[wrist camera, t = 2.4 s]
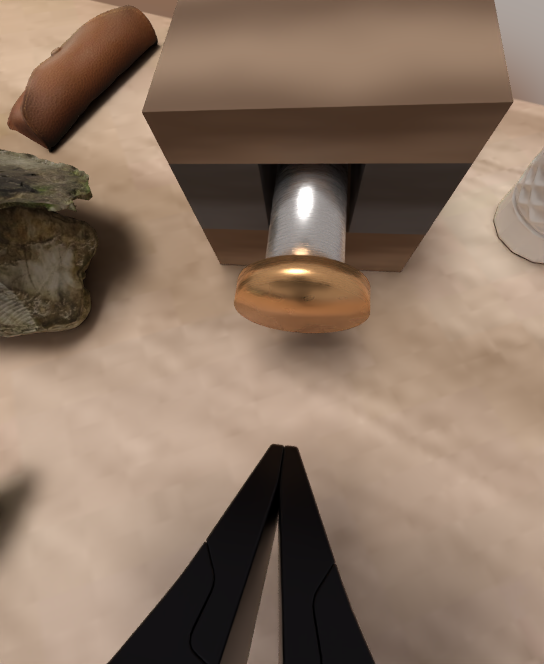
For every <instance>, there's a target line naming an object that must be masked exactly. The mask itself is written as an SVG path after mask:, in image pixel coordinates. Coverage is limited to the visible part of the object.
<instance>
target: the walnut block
mask: <svg viewBox="0 0 544 664" xmlns="http://www.w3.org/2000/svg"><path fill="white" fill-rule="evenodd" d="M512 103H513V98H512V92H511V87H510V82H509V77H508V71H507V66H506V61H505V55H504V50H503V45H502V40H501V34H500V29H499V24H498V19H497V14H496V8H495V3H494V0H178V2H177V6H176V8H175V11H174V15H173V18H172V21H171V24H170V27H169V30H168V33H167V36H166V39H165V42H164V45H163V49H162V52H161V55H160V58H159V61H158V64H157V67H156V70H155V73H154V76H153V79H152V83H151V86H150V89H149V92H148V95H147V98H146V101H145V104H144V107H143V110H142V113H143V115H144V117H145V119H146V121H147V123H148V125H149V127H150V128H151V130H152V132H153V134H154V136H155V138H156V140H157V142H158V144H159V146H160V148H161V150H162V152H163V154H164V156H165V158H166V159H167V161H168V163H169V165H170V167H171V169H172V171H173V173H174V175H175V177H176V179H177V181H178V183H179V185H180V187H181V188H182V190H183V192H184V194H185V196H186V198H187V200H188V202H189V204H190V206H191V208H192V210H193V212H194V214H195V216H196V217H197V219H198V221H199V223H200V225H201V227H202V229H203V231H204V233H205V235H206V237H207V239H208V241H209V243H210V245H211V246H212V248H213V250H214V252H215V254H216V256H217V258H218V260H219V262H220V264H232V265H250V264H252V263H254V262H256V261H259V260H262V259H265V258H266V250H267V243H268V235H269V227H270V219H271V211H272V203H273V196H274V188H275V180H276V172H277V164H348V185H347V212H346V239H345V264H348V265H350V266H352V267H354V268H356V269H357V270H369V271H392V272H401V270H402V269H403V267H404V266H405V264H406V263H407V261H408V260H409V258H410V257H411V255H412V254H413V252H414V251H415V249H416V248H417V246H418V245H419V243H420V242H421V240H422V239H423V237H424V236H425V234H426V233H427V231H428V230H429V228H430V227H431V225H432V224H433V222H434V221H435V219H436V218H437V216H438V215H439V213H440V212H441V210H442V209H443V207H444V206H445V204H446V203H447V201H448V200H449V198H450V197H451V195H452V194H453V192H454V191H455V189H456V188H457V186H458V185H459V183H460V182H461V180H462V179H463V177H464V176H465V174H466V173H467V171H468V170H469V168H470V167H471V165H472V164H473V162H474V161H475V159H476V158H477V156H478V155H479V153H480V152H481V150H482V148H483V147H484V145H485V144H486V142H487V141H488V139H489V138H490V136H491V135H492V133H493V132H494V130H495V129H496V127H497V126H498V124H499V123H500V121H501V120H502V118H503V117H504V115H505V114H506V112H507V111H508V109H509V108H510V106H511V105H512Z"/></svg>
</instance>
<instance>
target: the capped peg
mask: <svg viewBox="0 0 544 664" xmlns="http://www.w3.org/2000/svg"><path fill="white" fill-rule="evenodd" d="M347 185H348V164H277V172H276V180H275V188H274V196H273V203H272V211H271V219H270V227H269V235H268V243H267V250H266V258H265V259H262V260H259V261H256V262H254V263H252V264H250V265H248V266H247V267H246V268H244V269H243V270H242V271H241V273H240V274H239V277H238V281H237V288H236V294H235V300H234V306H235V308H236V310H237V311H238V313H240V314H241V315H242V316H243V317H245V318H246V319H248V320H250V321H252V322H254V323H257V324H259V325H262V326H266V327H269V328H273V329H278V330H283V331H290V332H299V333H328V332H336V331H342V330H346V329H350V328H353V327H356V326H358V325H360V324H362V323H363V322H365V321H366V320H367V319H368V317H369V315H370V283H369V281H368V279H367V278H366V277H365V276H364V274H363V273H361V272H360V271H359V270H357V269H356V268H354V267H352V266H350V265H348V264H345V239H346V212H347Z"/></svg>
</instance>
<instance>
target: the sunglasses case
mask: <svg viewBox="0 0 544 664" xmlns="http://www.w3.org/2000/svg"><path fill="white" fill-rule="evenodd" d="M157 43H158V39H157V36H156V34H155V31H154V29H153V27H152V25H151V23H150V21H149V20H148V19H147V17H146V16H145V15H144V14H143V13H142V12H141V11H140V10H138V9H137V8H135V7H133V6H123V7H119V8H116V9H112V10H110V11H107V12H105V13H102V14H100V15H98V16H96V17H94V18H93V19H91V20H89V21H88V22H87V23H85V24H84V25H83V26H81V27H80V28H79V29H78V30H77V31H76V32H75V33H74V34H73V35H72V36H71V37H70V38H69V39H68V40H67V41H66V42H65V43H64V44H63V45H62V46H61V47H60V48H59V47H58V48H56V49H55V50H53V51H52V52H51V57H49V58H48V59H46V60H45V61H44V62H42V63H41V64H40V65H39V66H38V67H37V68H35V69H34V70H33V72H32V74H31V76H30V78H29V80H28V83H27V86H26V88H25V91H24V92H23V93H22V95H21V96H20V97H19V98H18V100H17V101H16V103H15V104H14V106H13V108H12V110H11V113H10V116H9V118H8V122H7V124H8V126H9V128H10V129H12V130H16V131H18V132H19V133H21V134H23V135H25V136H26V137H28V138H30V139H31V140H33V141H35V142H37V143H38V144H40V145H42V146H43V147H45V148H47V149H49V152H50V150H51V147H54V146H55V145H56V144H57V143H58V142H59V141H60V139H61V138H62V137H63V136H64V135H65V134H66V133H67V131H68V130H69V129H70V127H71V126H72V125H73V124H74V123H75V122H76V120H77V119H78V116H80V115H81V114H83V112H84V111H85V110H86V108H87V107H88V106H89V104H90V103H91V101H92V100H94V99H96V98H97V97H98V96H99V95H100V94H101V93H102V92H103V91H105V90H106V89H107V88H108V87H109V86H110V85H111V83H112V82H113V81H114V80H115V79H116V78H117V77H118V75H120V74H121V73H123V72H124V71H125V70H126V69H127V68H128V67H129V66H130V65H131V64H132V63H133V62H134V61H135V60H136V59H137V58H138V57H139V56H141V55H142V54H143V53H144V52H145V51H146V50H147V49H148V48H149V47H150V46H152V45H153V44H154V45H157Z"/></svg>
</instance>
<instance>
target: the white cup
mask: <svg viewBox="0 0 544 664" xmlns="http://www.w3.org/2000/svg"><path fill="white" fill-rule="evenodd" d="M494 222H495V226H496V230H497V233H498V236H499V238H500V239H501V240H502V241H503V242H504V243H505V244H506V245H507V247H508V248H509V249H510V250H511V251H512V252H514V253H516V254H518V255H520V256H522V257H524V258H526V259H528V260H530V261H532V262H537V263H544V147H543V149H542V150H541V152H540V153H539V154H538V155H537V156H536V157H535V158H534V160H533V161H532V162H531V163H530V165H529V166H528V167H527V169H526V170H525V172H524V173H523V175H522V176H521V178H520V180H519V181H518V182H517V183H516V184H515V185H514V187H513V188H512V189H511V190H510V191H509V192H508V194H507V195H506V196H505V197H504V198H503V200H502V201H501V202H500V203H499V205H498V208H497V211H496V215H495V218H494Z"/></svg>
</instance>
